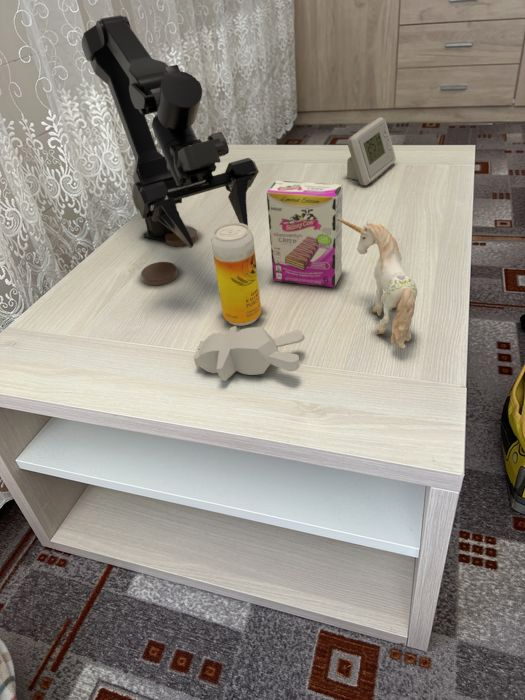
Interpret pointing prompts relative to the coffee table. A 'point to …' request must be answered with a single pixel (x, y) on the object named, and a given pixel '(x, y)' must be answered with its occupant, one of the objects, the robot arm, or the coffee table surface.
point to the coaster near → (159, 273)
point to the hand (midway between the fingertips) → (219, 237)
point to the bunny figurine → (246, 352)
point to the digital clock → (370, 152)
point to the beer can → (236, 273)
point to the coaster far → (176, 241)
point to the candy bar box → (305, 232)
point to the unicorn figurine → (389, 281)
